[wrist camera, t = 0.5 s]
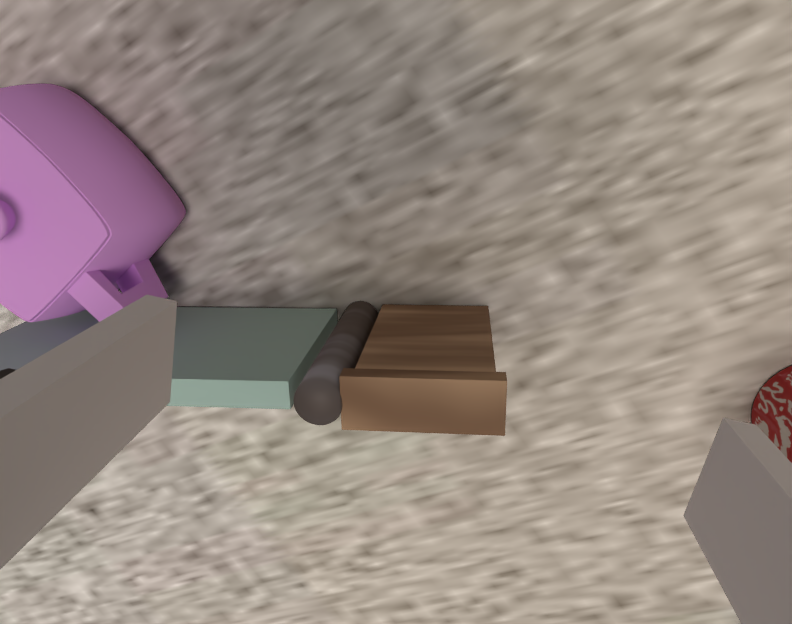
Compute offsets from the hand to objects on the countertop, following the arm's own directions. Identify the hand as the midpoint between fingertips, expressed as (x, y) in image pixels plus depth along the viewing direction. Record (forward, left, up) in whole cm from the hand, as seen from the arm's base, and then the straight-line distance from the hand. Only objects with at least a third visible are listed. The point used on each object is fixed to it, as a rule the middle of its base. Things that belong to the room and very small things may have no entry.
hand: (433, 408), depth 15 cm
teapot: (-2, -25, -26) cm, 36 cm away
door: (+7, -18, -26) cm, 32 cm away
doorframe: (+6, -2, -26) cm, 27 cm away
